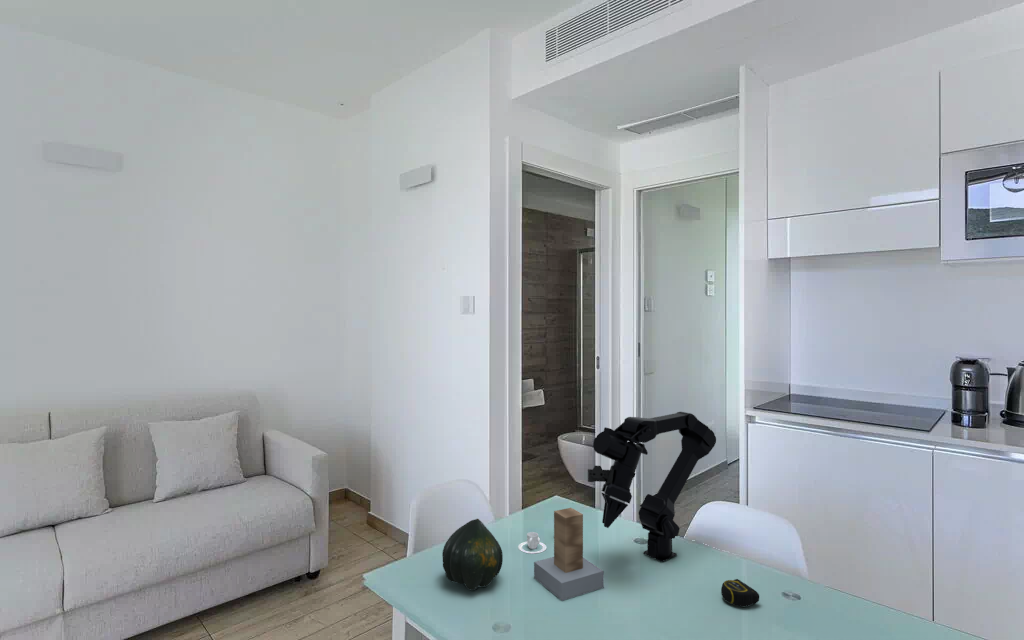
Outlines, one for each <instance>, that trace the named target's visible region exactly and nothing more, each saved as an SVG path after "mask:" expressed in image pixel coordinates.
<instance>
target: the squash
mask: <svg viewBox="0 0 1024 640" xmlns="http://www.w3.org/2000/svg"><path fill="white" fill-rule="evenodd" d="M441 553H442V555H441V556H442V568H443V571H444V572H445V573H444V574H445V576H446V579H448V581H450V582H453V583H457V584H458V585H464V586H465V587H466V589H468V590H470V591H475V590H476V589H477V588H479V587H481V588H483V587H487V586H489V585H491V583H492V582H493V580H494V579H495V578H497V576H498V575H499V573H500V571H501V569H502V567H503V566H502V565H503V562H504V561H503V560H504V559H503V558H504V555H503V550H502V547H501V545H500V544H499V541H498V540H497V539H496V538H495V536H494V534H493V533H492V532H491V531H490V530H489V528H487V526H486V525H485V524H484V522H482V521H481V520H480V518H475V519H472V520H470V521H468V522H466V523H464V524H463V525H461V526H460V527H459V528H457V529H456V530H455V531H454V532H453V533H452V534H451V535H450V536H449V538H448V539H447V540H446V542H444V546H443V549H442V552H441Z"/></svg>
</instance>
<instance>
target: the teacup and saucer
mask: <svg viewBox="0 0 1024 640" xmlns="http://www.w3.org/2000/svg"><path fill="white" fill-rule="evenodd" d="M524 545H527V546H528V548H529V549H530V550H536V549H537V547H538V545H540V546H542V548H541V549H540V550H538V551H528V550H525V549H524V548H523V546H524ZM517 549H518V550H519V551H521V552H523V553H526V554H530V555H531V554H532V555H533V554H535V555H536V554H541V553H543V552H546V550H547V545H546V544H545V543H543V542H541V538H540V537H539V533H538V532H536V531H535V532H534V531H529V532H527V533H526V541H523V542H521V543H519V544H518V546H517Z"/></svg>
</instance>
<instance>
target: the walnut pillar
mask: <svg viewBox="0 0 1024 640" xmlns="http://www.w3.org/2000/svg"><path fill="white" fill-rule="evenodd" d="M553 543H554V544H553V557H554V565H556V566H557V567H558V568H560V569H561V570H562V571H563V572H565V573H567V572H571V571H575V570H579V569H582V568H583V558H584V513H582V512H581V511H578V510H576V509H575V508H572V507H567V508H562V509H557V510H553Z"/></svg>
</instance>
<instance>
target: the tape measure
mask: <svg viewBox="0 0 1024 640" xmlns="http://www.w3.org/2000/svg"><path fill="white" fill-rule="evenodd" d="M720 589H721V591H720V594H721V597H722V598H723V600H724V601H726V602H727V603H729V604H731V605H733V606H735V607H740V608H742V607H743V608H744V607H746V608H748V607H750V606H752V605H755V604H758V603H759V601H760V594H759V592H757V590H756V589H754V588H752V587H751V586H749V585H748V584H746V583H745V582H743V581H741V580H740V579H738V578H734V579H733V580H732V579H728V580H725V581H723V583H722V584H721V588H720Z"/></svg>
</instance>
